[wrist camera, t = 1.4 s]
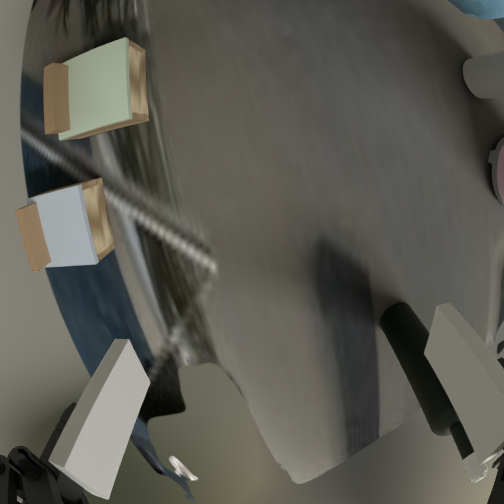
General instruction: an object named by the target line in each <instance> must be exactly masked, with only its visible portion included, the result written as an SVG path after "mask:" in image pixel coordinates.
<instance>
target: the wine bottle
mask: <svg viewBox="0 0 504 504" xmlns="http://www.w3.org/2000/svg"><path fill="white" fill-rule="evenodd" d="M381 328H382V330H383V332H384V334H385V335H386V337H387V339H388V341H389V343H390V345H391V347H392V349H393V350H394V352H395V354H396V356H397V358H398V360H399V362H400V364H401V366H402V368H403V370H404V372H405V374H406V376H407V378H408V380H409V382H410V384H411V386H412V388H413V391H414V393H415V395H416V397H417V399H418V401H419V403H420V406H421V408H422V410H423V412H424V414H425V417H426V419H427V421H428V423H429V425H430V428H431V430H432V432H433V433H435V434H436V435H439V436H446V435H450V434H452V436H453V439H454V441H455V443H456V445H457V448H458V450H459V452H460V454H461V457H462V459H463V464H464V467H465V469H466V472H467V474H468V477H469V480H470V482H471V481H472V482H473V483H474V482H475V483H476V482H477V481H479V480H481V479H482V478H484V477H485V476H487V471H488V468H487V466H486V464H485V463H483V464H481V465H480V463H479V461H478V459H477V456H476V454H475V451H474V449H473V447H472V445H471V442H470V440H469V438H468V436H467V434H466V431H465V429H464V427H463V425H462V423H461V421H460V419H459V417H458V415H457V413H456V411H455V409H454V407H453V405H452V403H451V401H450V399H449V397H448V395H447V393H446V391H445V390H444V388H443V386H442V384H441V382H440V380H439V379H438V377H437V375H436V373H435V371H434V370H433V368H432V366H431V364H430V363H429V361H428V359H427V358H426V356H425V354H424V351H425V348H426V345H427V341H428V338H429V334H430V333H429V332H428V331H427V329H426V328H425V326H424V325H423V324H422V322H421V321H420V319H419V318H418V317H417V315H416V314H415V313H414V311H413V310H412V309H411V307H410V306H409V305H407V304H404V303H399V304H395V305H393V306H391V307H390V308H389V309H388V310H387V311H386V312H385V313H384V314H383V316H382V318H381Z"/></svg>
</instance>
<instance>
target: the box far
mask: <svg viewBox="0 0 504 504" xmlns="http://www.w3.org/2000/svg"><path fill="white" fill-rule="evenodd" d="M80 184H81V185H82V190H83V196H84V201H85V206H86V211H87V216H88V220H89V225H90V229H91V233H92V238H93V242H94V245H95V249H96V253H97V257H98V260H101V259H102V258H104V257H105V256H106V255H107V254H108V253H109V252H110V251H112V250H113V249H114V248H115V243H114V239H113V234H112V230H111V225H110V221H109V216H108V211H107V206H106V200H105V195H104V189H103V183H102V178H97V179H93V180H88V181H84V182H80V183H76V184H72V185H68V186H64V187H60V188H57V189H53V190H50V191H47V192H44V193H42V194H45V193H49V192H52V191H56V190H60V189H64V188H68V187H72V186H76V185H80ZM42 194H39V195H42ZM36 196H38V195H36ZM34 197H35V196H34Z"/></svg>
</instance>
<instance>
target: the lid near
mask: <svg viewBox="0 0 504 504" xmlns="http://www.w3.org/2000/svg"><path fill="white" fill-rule="evenodd" d="M130 119H132V111H131V97H130V79H129V39H128V38H126V37H125V38H122V39H119V40H116V41H113V42H111V43H108V44H105V45H103V46H100V47H98V48H95V49H93V50H90V51H88V52H86V53H83V54H81V55H79V56H77V57H74V58H72V59H70V60H68V61H66V62H64V63H62V64H59V63H55V62H53V63H51V64H49V65H48V66H46V67H44V121H45V135H46V134H57V133H59V140H64V139H67V138H70V137H73V136H76V135H79V134H82V133H85V132H88V131H91V130H94V129H98V128H101V127H104V126H108V125H111V124H115V123H119V122H122V121H126V120H130Z"/></svg>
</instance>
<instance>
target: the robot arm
mask: <svg viewBox="0 0 504 504" xmlns="http://www.w3.org/2000/svg"><path fill="white" fill-rule="evenodd" d="M448 1H450V2H451V3H452V4H453V5H454V6H456V7H457V8H458V9H459V10H461V11H462V12H463V13H465V14H467V15H469V16H473V17H478V18H481V19H495V18H501V17H504V0H448ZM424 354H425V356H426V358H427V359H428V361H429V363H430V364H431V366H432V368H433V370H434V371H435V373H436V375H437V377H438V379H439V380H440V382H441V384H442V386H443V388H444V390H445V391H446V393H447V395H448V397H449V399H450V401H451V403H452V405H453V407H454V409H455V411H456V413H457V415H458V417H459V419H460V421H461V423H462V425H463V427H464V429H465V431H466V434H467V436H468V438H469V440H470V442H471V445H472V447H473V449H474V451H475V454H476V456H477V459H478V461H479V463H480V465H481V464H483V463H485V462H486V461H488V460H490V459H491V458H493V457H494V456H496V455H497V454H498V453H499V452H500V451H501V450H502V449H503V450H504V359H503V358H500V359H496V358H495V356H494V355H493V354H492V352H491V351H490V350H489V348H488V347H487V346H486V345H485V343H484V342H483V341H482V340H481V338H480V337H479V336H478V335H477V333H476V332H475V331H474V330H473V328H472V327H471V326H470V325H469V324H468V323H467V321H466V320H465V319H464V318H463V317H462V315H461V314H460V313H459V312H458V311H457V310H456V309H455V307H454V306H453V305H452V304H451V303H446V304H442V305H437V306H436V310H435V315H434V319H433V323H432V327H431V330H430V334H429V338H428V341H427V345H426V348H425V351H424ZM149 384H150V380H149V379H148V377H147V375H146V373H145V371H144V369H143V367H142V365H141V363H140V361H139V359H138V357H137V355H136V353H135V351H134V349H133V347H132V345H131V343H130V340H129V339H115V340H114V341H113V343H112V345H111V346H110V348H109V350H108V351H107V353H106V354H105V356H104V358H103V359H102V361H101V363H100V365H99V366H98V368H97V370H96V371H95V373H94V375H93V376H92V378H91V380H90V382H89V384H88V385H87V387H86V389H85V390H84V392H83V394H82V396H81V398H80V400H79V401H78V403H72V404H71V405H70V406H69V407H68V408H67V409H66V410H65V411H64V413H63V415H62V416H61V418H60V420H59V421H60V422H58V424H57V426H56V427H55V428H56V429H55V430H54V431H53V433H52V435H51V437H50V439H49V441H48V443H47V445H46V447H45V449H44V451H43V453H42V455H41V457H40V458H37V457H36V456H35V455H34V454H33V453H32V452H31V451H30V450H28V449H27V448H26V447H24V446H17V447H15V448H13V449H12V450H11V452H10V453H9V455H8V457H7V458H6V457H5V456H3V455H0V504H89V503H88V500H87V498H86V496H85V495H84V493H83V490H84V489H86V490H87V491H88V492H90V493H91V494H93V495H96V496H99V497H102V498H105V499H109V496H110V493H111V490H112V487H113V484H114V481H115V478H116V475H117V472H118V469H119V466H120V463H121V460H122V457H123V454H124V452H125V449H126V446H127V443H128V440H129V437H130V435H131V432H132V429H133V427H134V424H135V421H136V418H137V416H138V413H139V410H140V408H141V405H142V403H143V400H144V397H145V395H146V392H147V390H148V387H149ZM498 463H500V464H499V466H498V467H497V469H498V472H497V476H496V479H495V482H494V485H493V489H492V491H491V495H490V497H489V500H488V503H487V504H504V453H503V454H502V455H501V456H500V457H499V458H498V459H497V460H496V461H495V462H494V464H493V466H492V468H494V467H495V466H496V465H497V464H498ZM17 496H19V497H20V498H22V499H23V502H22V503H19V502H18V501H17Z"/></svg>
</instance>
